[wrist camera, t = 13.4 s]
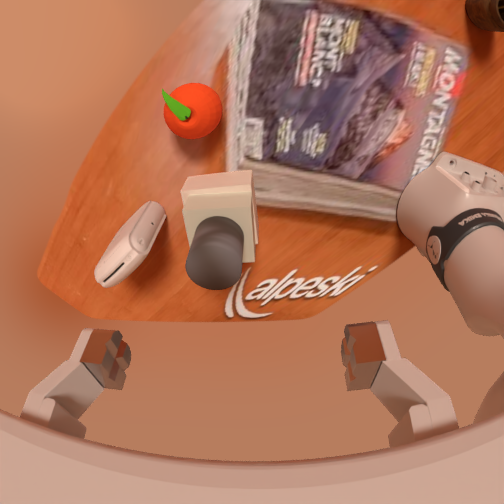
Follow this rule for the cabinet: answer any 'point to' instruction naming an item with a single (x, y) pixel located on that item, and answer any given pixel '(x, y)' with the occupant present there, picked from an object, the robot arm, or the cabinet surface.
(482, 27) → the utensil holder
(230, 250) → the charcoal cylinder
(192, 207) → the tower top block
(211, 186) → the tower bottom block
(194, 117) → the clementine
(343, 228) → the cabinet surface
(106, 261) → the photo printer
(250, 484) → the robot arm
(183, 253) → the cabinet surface
